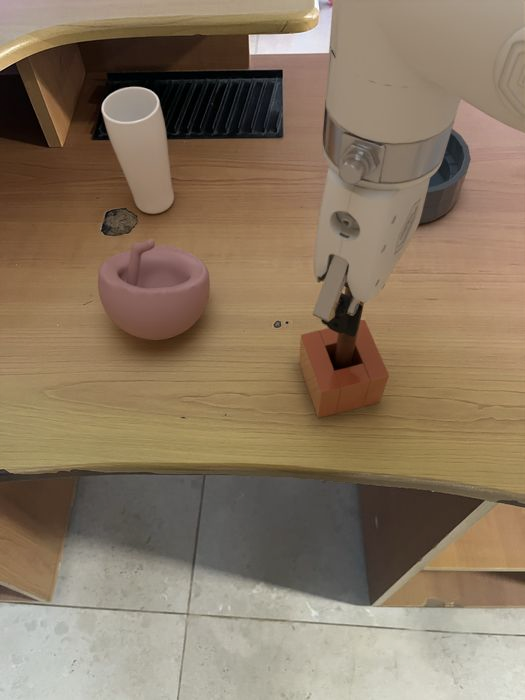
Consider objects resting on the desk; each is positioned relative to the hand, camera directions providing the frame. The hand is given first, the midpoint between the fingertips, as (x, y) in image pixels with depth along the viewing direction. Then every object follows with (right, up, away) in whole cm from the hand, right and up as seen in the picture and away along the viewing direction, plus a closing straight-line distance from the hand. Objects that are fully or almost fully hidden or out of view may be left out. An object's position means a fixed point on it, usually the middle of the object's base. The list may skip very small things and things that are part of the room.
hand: (353, 303), depth 50 cm
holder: (0, -8, +13) cm, 15 cm away
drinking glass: (-23, +16, +28) cm, 39 cm away
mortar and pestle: (-20, 0, +18) cm, 27 cm away
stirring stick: (0, -8, +13) cm, 15 cm away
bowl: (+11, +18, +28) cm, 35 cm away
